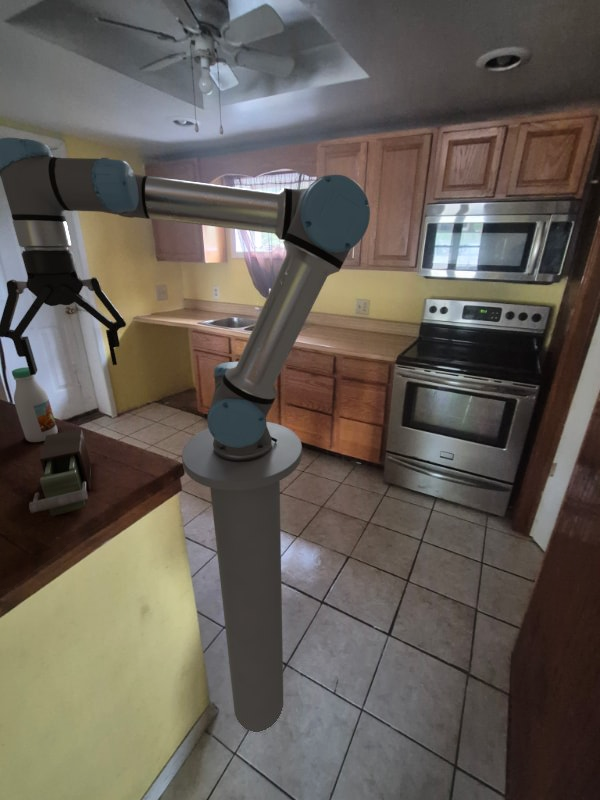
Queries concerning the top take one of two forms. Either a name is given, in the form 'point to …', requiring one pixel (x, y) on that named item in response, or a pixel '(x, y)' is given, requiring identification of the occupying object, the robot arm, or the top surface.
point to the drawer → (61, 487)
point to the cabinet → (67, 451)
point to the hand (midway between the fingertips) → (76, 367)
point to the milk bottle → (33, 407)
